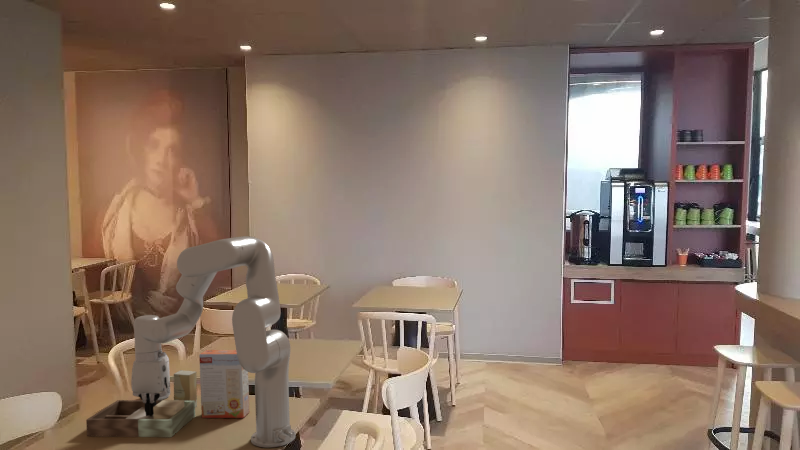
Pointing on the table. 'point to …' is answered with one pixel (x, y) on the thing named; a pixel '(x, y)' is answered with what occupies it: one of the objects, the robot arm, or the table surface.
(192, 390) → the skincare box
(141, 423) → the track
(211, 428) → the table surface
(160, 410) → the maple block
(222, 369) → the cracker box
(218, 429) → the table surface
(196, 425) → the table surface
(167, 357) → the supplement can
